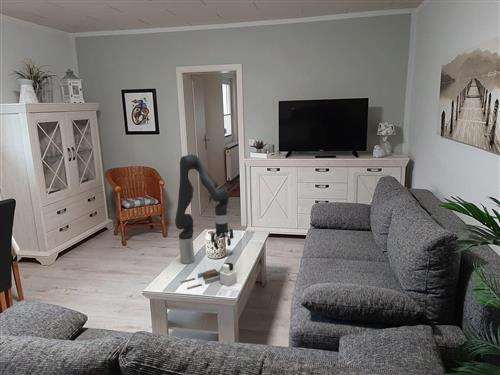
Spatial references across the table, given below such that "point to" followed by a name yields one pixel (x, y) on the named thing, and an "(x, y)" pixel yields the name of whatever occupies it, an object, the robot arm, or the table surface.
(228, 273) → the medicine bottle
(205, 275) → the block
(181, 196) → the robot arm
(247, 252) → the table surface
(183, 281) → the strips
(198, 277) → the channel
